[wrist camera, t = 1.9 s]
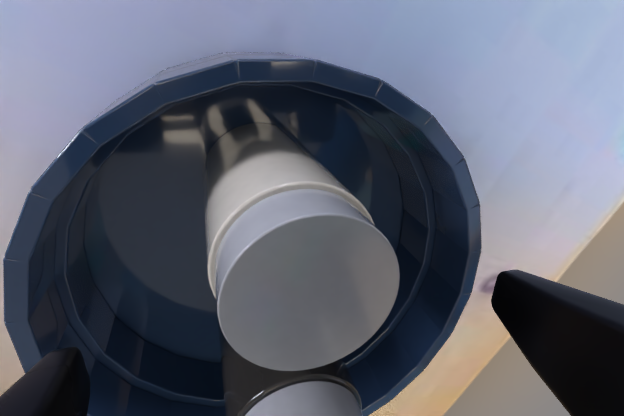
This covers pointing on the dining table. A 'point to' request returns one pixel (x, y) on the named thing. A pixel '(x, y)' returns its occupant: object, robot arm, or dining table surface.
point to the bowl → (191, 229)
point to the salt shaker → (291, 253)
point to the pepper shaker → (285, 388)
